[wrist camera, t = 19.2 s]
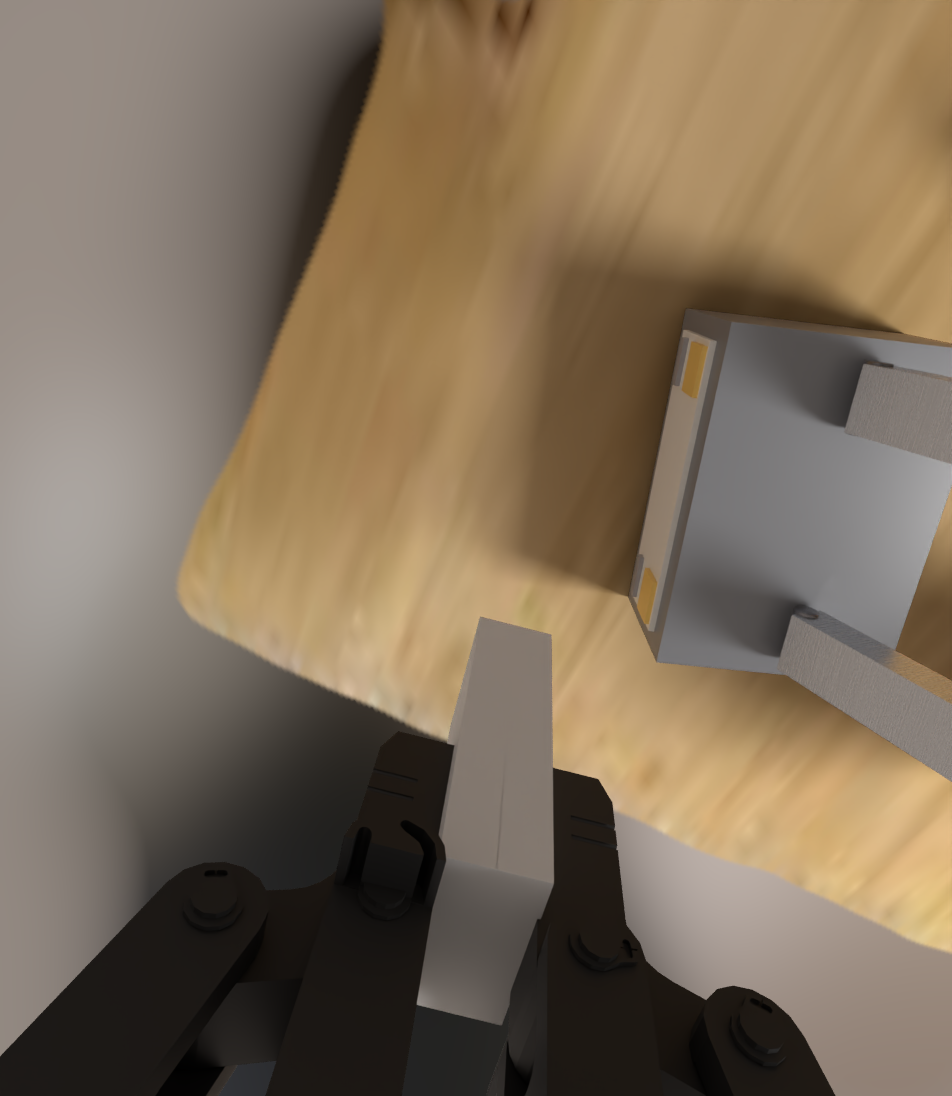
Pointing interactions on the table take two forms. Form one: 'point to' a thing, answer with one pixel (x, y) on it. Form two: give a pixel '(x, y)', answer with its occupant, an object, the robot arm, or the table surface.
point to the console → (779, 493)
